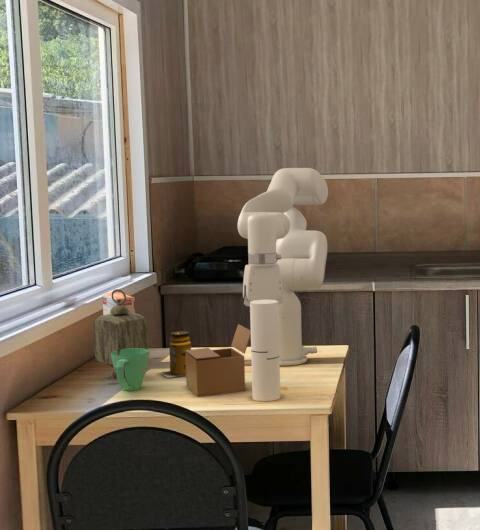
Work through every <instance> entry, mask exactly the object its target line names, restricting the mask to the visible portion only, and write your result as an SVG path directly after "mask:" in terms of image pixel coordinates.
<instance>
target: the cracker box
mask: <svg viewBox="0 0 480 530" xmlns="http://www.w3.org/2000/svg"><path fill="white" fill-rule="evenodd" d="M125 295H126V301H125V303H124V304H121V305H124V306H126V307H127V309H128V310H129V312H133V313H136V305H135V303H136V302H135V301H136V300H135V297H134V296H131V295H128V294H126V293H125ZM113 298H114V299H115V300H116V301H117V299H120V300H121V302H123V301H124V295H123V294H122V293H121V292H115V293H114V294H113ZM116 305H117V304H116V303H115V302H114V301H113V300H112V292H108V293H107V292H106V293H103V294H102V313H103V314H102V315H108V314H111V313H110V310H111V308H112V307H113V306H116Z"/></svg>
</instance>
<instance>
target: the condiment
mask: <svg viewBox="0 0 480 530" xmlns="http://www.w3.org/2000/svg"><path fill="white" fill-rule="evenodd" d="M169 337H170V339H169V340H170V342H169V344H168V345H169V346H168V347H169V371H159V374H161V375H162V376H163V377H165V378H167V379H170V378H175V377H186V356H185V353H187V352H186V350H192V342H191V340H190V333H189V332H188V331H182V330H181V331H180V330H179V331H173V332H171V333H170V335H169Z"/></svg>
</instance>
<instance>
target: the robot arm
mask: <svg viewBox="0 0 480 530" xmlns="http://www.w3.org/2000/svg"><path fill="white" fill-rule="evenodd" d="M328 187H329V186H328V184H327V182H326V180H325V178H324V176H323V175H322V174H321V173H320V172H319V171H318V170H316V169H314V168H312V167H284V168H280V169H278V170H277V171H276V172H275V173H274V174H273V176H272V178H271V181H270V183H269V185H268V188H267V190H266V191H264V192H262V193H260V194H258V195H256V196H255V197H252V198H251V199H249V200H248V201H247V202H246V203H244V205H243V206H242V209H241V211H240V213H239V216H238V219H237V231H238V234H239V236H240V237H242V238H243V239H246V240H247V253H248V254H247V257H248V264H245V266H244V271H243V281H242V283H243V284H242V298H243V306H245V307H249V308H250V302H251V301H255V300H277V301H278V316H279V358H280V367H283V366H284V367H287V366H298V365H302V364H305V363H306V362H307V361H308V355H309V354H311V355H312V354H317V353H318V347H317V346H312V347H311V346H304V345H303V340H302V339H303V338H302V337H303V336H302V335H303V334H302V333H303V332H302V304H301V300H300V299H299V297H298V296H297V295H296V293H295V292H294V291H316V290H319V289H320V288H321V287H322V286H323V283H324V281H325V272H326V265H327V264H326V263H327V257H328V240H327V237H326V235H325V234H324V233H323V232H322V231H320V230H314V229H313V230H307V225H308V222H307V220H306V217H305V216H304V214H302V212H301V211H300V210H299V209H298V208H297V207H295V206H320V205H321V206H322V205H324V204H325V203H326V202H327V200H328V196H329V188H328Z"/></svg>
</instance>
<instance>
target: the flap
mask: <svg viewBox="0 0 480 530" xmlns="http://www.w3.org/2000/svg"><path fill="white" fill-rule="evenodd" d="M250 340H251V329H249V328H247V327H245V326H243V325H241V324H239V323H238V324H237V326H236V329H235V332H234V336H233V339H232V341H231V345H230V346H231V347H232V348H233V349H236V351H238V352H241V354H246V351H247V348H248V345H249V342H250Z"/></svg>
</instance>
